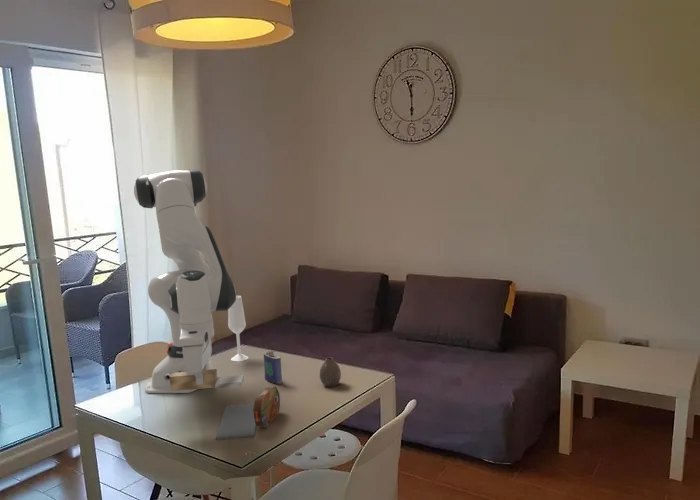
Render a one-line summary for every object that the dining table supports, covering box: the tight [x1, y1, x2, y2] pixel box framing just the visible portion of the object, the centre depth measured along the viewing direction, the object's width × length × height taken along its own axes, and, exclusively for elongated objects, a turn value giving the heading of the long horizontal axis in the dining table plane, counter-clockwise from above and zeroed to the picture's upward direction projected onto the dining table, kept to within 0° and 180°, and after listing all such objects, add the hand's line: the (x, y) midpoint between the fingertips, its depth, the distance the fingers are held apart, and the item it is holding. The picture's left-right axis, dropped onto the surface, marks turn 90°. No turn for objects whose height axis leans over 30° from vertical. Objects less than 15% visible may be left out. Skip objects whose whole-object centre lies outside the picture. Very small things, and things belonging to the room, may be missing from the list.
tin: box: [253, 386, 281, 428], centre depth 164 cm, size 15×3×8 cm, turn 168°
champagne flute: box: [227, 295, 249, 362], centre depth 224 cm, size 7×7×24 cm
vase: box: [319, 357, 342, 388], centre depth 191 cm, size 7×7×9 cm
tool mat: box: [215, 403, 257, 441], centre depth 165 cm, size 10×22×1 cm, turn 5°
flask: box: [263, 349, 283, 385], centre depth 197 cm, size 9×3×11 cm, turn 37°
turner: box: [170, 368, 245, 391], centre depth 161 cm, size 19×6×4 cm, turn 95°
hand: (201, 380), depth 161 cm, fingers closed on turner, 3 cm apart
